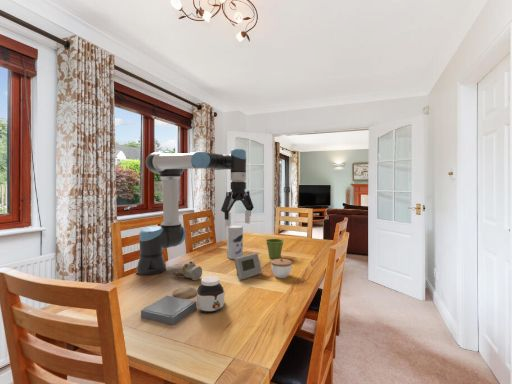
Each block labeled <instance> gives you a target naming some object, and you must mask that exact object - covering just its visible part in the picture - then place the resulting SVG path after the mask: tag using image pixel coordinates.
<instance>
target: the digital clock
mask: <svg viewBox="0 0 512 384" xmlns="http://www.w3.org/2000/svg"><path fill="white" fill-rule="evenodd" d="M233 261H234V265H235V270H236V277H237V279H238V280H240V281H242V280H246V279H249V278H252V277H255V276H258V275H260V274H262V272H263V270H262V266H261V262H260V257H259V254H258V252H254V253H250V254H245V255H243V256H240V257H237V258H235V259H233Z"/></svg>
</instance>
